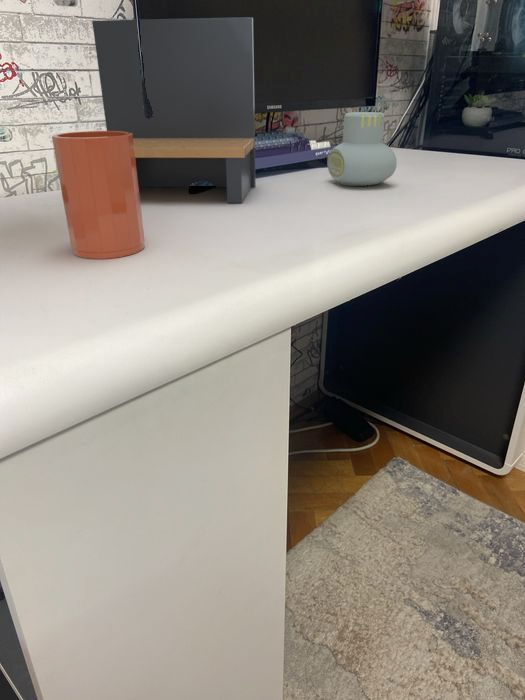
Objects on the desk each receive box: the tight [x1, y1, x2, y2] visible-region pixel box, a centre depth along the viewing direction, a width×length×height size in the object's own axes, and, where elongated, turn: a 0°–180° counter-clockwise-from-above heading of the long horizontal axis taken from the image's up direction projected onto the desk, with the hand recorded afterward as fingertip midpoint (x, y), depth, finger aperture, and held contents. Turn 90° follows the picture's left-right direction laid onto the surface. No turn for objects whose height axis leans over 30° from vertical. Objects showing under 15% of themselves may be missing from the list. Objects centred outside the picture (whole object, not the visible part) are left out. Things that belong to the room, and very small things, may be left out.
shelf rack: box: [92, 16, 257, 204], centre depth 72 cm, size 22×13×22 cm, turn 85°
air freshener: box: [326, 111, 398, 187], centre depth 81 cm, size 11×8×10 cm
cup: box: [51, 130, 146, 260], centre depth 50 cm, size 7×7×10 cm
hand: (39, 3), depth 49 cm, fingers open, 8 cm apart
